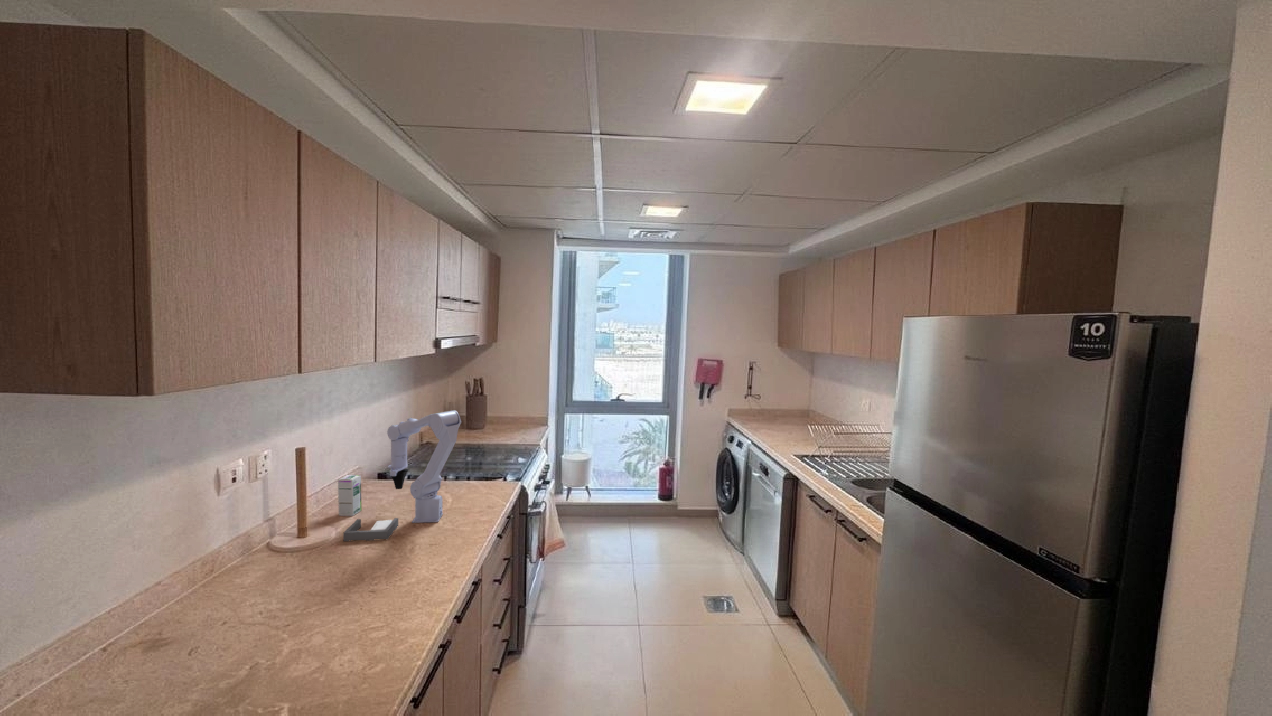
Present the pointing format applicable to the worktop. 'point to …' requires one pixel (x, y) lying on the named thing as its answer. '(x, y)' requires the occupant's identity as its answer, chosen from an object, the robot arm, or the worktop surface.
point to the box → (368, 532)
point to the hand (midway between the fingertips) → (399, 488)
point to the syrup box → (349, 495)
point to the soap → (381, 525)
